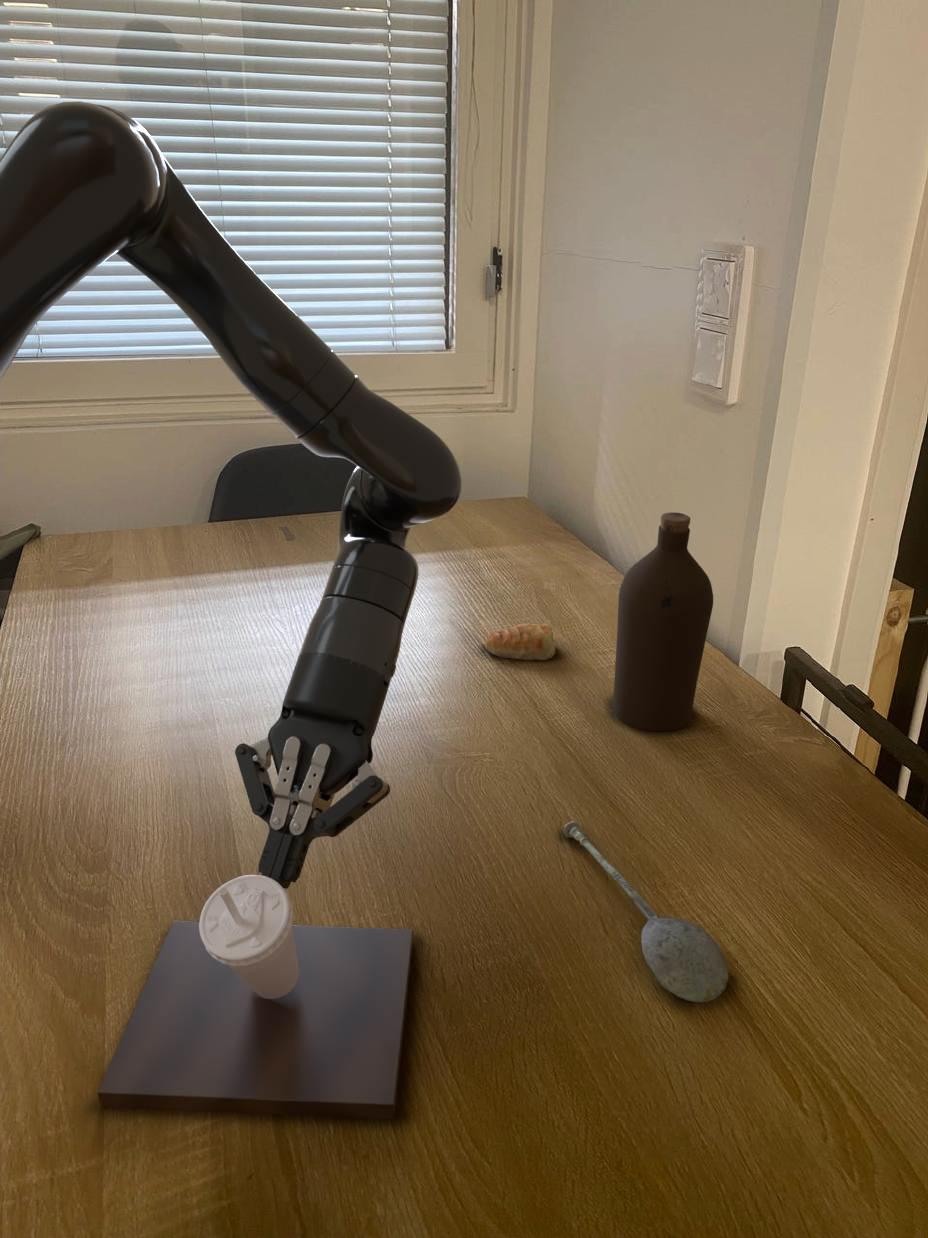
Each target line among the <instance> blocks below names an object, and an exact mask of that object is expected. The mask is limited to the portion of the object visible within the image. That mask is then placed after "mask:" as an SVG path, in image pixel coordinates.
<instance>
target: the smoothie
mask: <svg viewBox="0 0 928 1238" xmlns="http://www.w3.org/2000/svg"><path fill="white" fill-rule="evenodd" d="M293 918H294V910H293V904H292V901H291V899H290V897H289V895H288V893H287V892H286V890H285V888H282V886H281V885H280V884H279V883H277V882H276V881H275V880H273V879H271V878H269V877H266V876H262V874H246V875H240V876H238V877H235V878H233V879H230V880H229V881H227V882H225V883H223V884H222V885H221V886H219V887H218V888H217V889H216V890H215V891H214V892H213V893H212V894H211V895H210V896H209V897H208V899H207V900H206V902H205V904H204V905H203V907H202V910H201V913H200V915H199V921H198V922H199V931H200V936H201V939H202V941H203V943H204V945H205V948H206V950H207V951H208V952H209V953H210V955H211V956H212V957H213V958H215V959H216V960H218V961H220V962H221V963H224V964H227V965H228V966H229V967H230V968H231V969H232V970H233V971H234V972H235V973H236V974H237V975H238V976H239V977H240V978H241V979H243V980H244V981H245V982H246V983H247V984H248V985H249V986H250V987H251V988H252V989H253V990H254V991H255V992H256V993H257V994H258V995H259V996H261V997H263V998H266V999H276V998H279V997H282V996H284V995H286V994H287V993H288V992H290V991H291V990H292V988H293V987H294V986H295V984H296V982H297V980H298V977H299V965H298V960H297V954H296V949H295V943H294V938H293V933H292V927H291V925H293Z"/></svg>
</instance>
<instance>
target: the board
mask: <svg viewBox="0 0 928 1238" xmlns="http://www.w3.org/2000/svg"><path fill="white" fill-rule="evenodd" d="M291 927H292V933H293V938H294V943H295V949H296V954H297V960H298V965H299V977H298V980H297V982H296V984H295V986H294V987H293V988H292V990H291V991H290V992H288V993H287V994H286V995H284V996H282V997H279V998H276V999H266V998H263V997H261V996H259V995H258V994H257V993H256V992H255V991H254V990H253V989H252V988H251V987H250V986H249V985H248V984H247V983H246V982H245V981H244V980H243V979H241V978H240V977H239V976H238V975H237V974H236V973H235V972H234V971H233V970H232V969H231V968H230V967H229V966H228V965H227V964H224V963H221V962H220V961H218V960H216V959H215V958H213V957H212V956H211V955H210V953H209V952H208V951H207V950H206V948H205V945H204V943H203V941H202V939H201V936H200V931H199V921H192V920H191V921H190V920H172V922H171V924H170V927H169V929H168V931H167V934H166V935H165V938H164V940H163V942H162V944H161V947H160V950H159V952H158V953H157V956H156V958H155V960H154V963H153V966H152V968H151V970H150V972H149V975H148V977H147V979H146V981H145V983H144V986H143V989H142V991H141V993H140V994H139V997H138V1000H137V1001H136V1004H135V1006H134V1008H133V1011H132V1013H131V1015H130V1018H129V1020H128V1022H127V1024H126V1027H125V1029H124V1032H123V1034H122V1036H121V1038H120V1041H119V1043H118V1044H117V1047H116V1049H115V1052H114V1054H113V1056H112V1059H111V1061H110V1063H109V1065H108V1068H107V1070H106V1073H105V1075H104V1077H103V1079H102V1081H101V1084H100V1086H99V1088H98V1091H97V1096H98V1101H99V1106H100V1108H110V1109H111V1108H114V1109H133V1110H134V1109H135V1110H136V1109H137V1110H138V1109H139V1110H160V1111H183V1112H184V1111H187V1112H206V1113H207V1112H209V1113H232V1114H233V1113H237V1114H258V1115H259V1114H260V1115H284V1116H309V1117H330V1118H331V1117H333V1118H352V1119H353V1118H355V1119H356V1118H357V1119H378V1120H379V1119H382V1120H394V1119H395V1116H396V1107H397V1097H398V1087H399V1079H400V1071H401V1069H400V1068H401V1062H402V1061H401V1059H402V1051H403V1050H402V1049H403V1042H404V1041H403V1039H404V1031H405V1022H406V1012H407V1003H408V996H409V995H408V994H409V992H408V991H409V985H410V975H411V966H412V965H411V964H412V956H413V947H414V930H413V929H407V928H406V929H405V928H403V929H402V928H400V929H399V928H377V927H376V928H375V927H352V926H348V927H347V926H325V925H299V924H298V925H297V924H292V925H291Z"/></svg>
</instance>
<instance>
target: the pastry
mask: <svg viewBox="0 0 928 1238" xmlns="http://www.w3.org/2000/svg"><path fill="white" fill-rule="evenodd" d="M484 645H485V646H484V648H485V649H486V650H487V651H488V652H490V653H491V654H492V655H495V656H497V658H498V657H501V658H505V659H506V658H508V659H512V660H523V661H533V660H537V661H546V660H550V659H553V656H555V654H556V645H555V640H554V633H553V628H552V625H551V624H549V623H547V622H543V623H541V624H538V623H524V622H521V623H518V624H516V625H515V626H511V627H508V628H502V629H499V630H497V631H494V632H491V633H490V634H488V636H487V638H486V639H485V643H484Z"/></svg>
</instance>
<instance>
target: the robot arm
mask: <svg viewBox="0 0 928 1238" xmlns="http://www.w3.org/2000/svg"><path fill="white" fill-rule="evenodd" d="M114 254H115V255H118V256H119V257H120V258H122V259H123V260H124V261H126V263H129V265H131V266H132V267H133V268H134V269H136V270H137V271H139V272H140V273H141V274H143V275H144V276H145V277H147V279H149V280H150V281H151V282H152V283H154V284H155V286H157V287H158V288H159V289H160V290H161V291H162V292H163V293H165V295H167V296H168V297H169V299H171V300H172V302H174V304H176V306H177V307H179V309H180V310H181V311H182V312H183V313H184V315H186V316H187V318H189V320H191V322H192V323H193V324H194V325H195V326H196V328H197V329H198V330H199V331H200V333H201V334H202V335H203V336H204V338H205V339H206V341H208V342H209V344H210V345H211V346H212V348H213V349H214V350H215V352H216V353H217V354H218V356H219V358H221V359H222V361H223V363H224V364H225V365H226V366H227V368H228V369H229V370H230V371H231V373H232V374H233V375H234V376H235V378H236V379H237V380H238V381H239V383H240V384H241V385H242V386H243V387H244V388H245V390H247V391H248V393H249V394H250V395H251V396H252V397H253V398H254V399H255V400H256V401H257V402H258V403H259V405H261V407H263V408H264V409H265V411H267V412H268V413H269V414H270V415H271V416H272V417H273V418H274V419H275V420H276V421H277V422H279V424H280V425H282V426H283V427H284V429H286V430H287V431H288V432H289V433H290V434H291V435H292V436H293V437H295V439H296V440H297V441H298V442H299V443H300V444H301V445H303V446H304V447H305V448H306V449H307V450H309V452H311V453H312V454H314V455H315V456H318V457H322V458H339V459H344V460H347V461H349V462H351V463H352V464H354V465H355V468H354V470H353V471H352V473H351V475H350V477H349V479H348V482H347V484H346V487H345V490H344V493H343V497H342V504H341V511H340V518H339V527H338V534H337V535H338V536H337V538H338V539H337V540H338V541H337V555H336V558H335V560H334V562H333V565H332V567H331V570H330V572H329V575H328V578H327V581H326V584H325V587H324V590H323V594H322V596H321V599H320V602H319V604H318V606H317V609H316V611H315V612H314V615H313V617H312V619H311V620H310V623H309V625H308V627H307V630H306V633H305V636H304V639H303V642H302V645H301V648H300V650H299V654H298V657H297V660H296V663H295V665H294V668H293V671H292V674H291V677H290V680H289V683H288V686H287V688H286V691H285V695H284V697H283V701H282V706H281V712H280V715H279V717H278V719H277V720H276V721H275V723H274V724H273V725H272V726H271V727H270V728H269V731H268V733H267V737H265V738H263V739H261V740H258V741H256V742H255V743H253V744H251V745H249V744H247V743H240V744H238V745H237V746H236V748H235V750H234V754H235V757H236V761H237V765H238V768H239V772H240V775H241V779H242V782H243V785H244V788H245V791H246V796H247V798H248V802H249V805H250V809H251V811H252V813H253V814H254V815H255V816H257V817H259V818H260V819H261V820H263V821H264V823H266V824H267V826H268V834H267V838H266V841H265V844H264V846H263V849H262V852H261V857H260V859H259V862H258V866H257V868H258V873H260V874H261V875H262V876H266V877H269V878H271V879H273V880H275V881H276V882H277V883H279V884H280V885H281V886H282V888H283V889H284V890H285V889H286V890H287V889H289V887H290V886H291V884H292V883H296V882H297V881H298V879H300V876H301V875H302V870H303V867H304V863H305V861H306V858H307V855H308V851H309V848H310V845H311V843H312V842H313V841H314V840H315V839H317V838H323V837H329V838H335V837H337V836H339V835H340V834H341V833H343V832H344V831H345V830H347V829H348V827H350V826H351V825H352V824H354V823H355V822H356V821H358V820H359V819H360V818H362V817H363V816H364V815H365V814H366V813H367V812H369V811H370V810H371V809H372V808H374V807H375V806H376V805H378V804H379V803H380V802H381V801H382V800H384V799H385V798H387V797H388V796H389V794H390V793H391V786H390V784H389V783H388V782H387V781H386V780H384V779H382V778H381V777H380V775H379V773H378V772H377V770H376V769H375V768H374V766H373V765H372V761H373V758H374V752H373V748H372V747H373V746H372V740H373V737H374V735H375V733H376V730H377V727H378V724H379V720H380V718H381V714H382V710H383V708H384V704H385V701H386V698H387V694H388V692H389V688H390V684H391V681H392V678H394V676H395V673H396V669H397V663H398V662H397V661H398V658H399V655H400V650H401V644H402V637H403V633H404V628H405V625H406V622H407V618H408V616H409V612H410V609H411V605H412V602H413V599H414V596H415V592H416V589H417V585H418V581H419V576H420V575H419V572H420V571H419V564H418V562H417V560H416V558H415V557H414V555H413V554H412V553H411V552H410V551H409V550H407V548H406V546H407V539H408V536H409V533H410V531H411V529H412V527H414V526H418V525H421V524H424V523H427V522H431V521H433V520H437V519H439V518H442V517H444V516H445V515H446V514H448V513H450V512H451V511H452V510H453V509H454V508H455V507H456V505H457V504H458V502H459V500H460V499H461V496H462V491H463V475H462V471H461V468H460V465H459V462H458V460H457V458H456V456H455V454H454V452H452V450H451V448H450V447H449V446H448V444H447V443H446V442H445V441H444V440H443V439H442V438H441V437H440V436H439V435H438V434H437V433H436V432H434V431H433V430H432V429H430V427H428V426H427V425H426V424H424V423H422V422H421V421H420V420H418V419H417V418H415V417H414V416H412V415H411V414H409V413H407V412H406V411H404V410H403V409H402V408H400V407H398V406H397V405H396V404H394V403H393V402H391V401H389V400H388V399H386V398H384V397H383V396H381V395H379V394H378V393H376V392H374V391H372V390H371V389H370V388H369V387H368V386H367V385H366V384H365V383H364V382H363V381H362V379H360V377H358V375H356V373H355V372H354V371H353V370H352V369H351V368H350V367H349V366H348V365H347V364H346V363H345V362H344V361H343V360H342V358H340V357H339V356H338V355H337V354H336V353H335V351H333V350H332V348H331V347H330V346H329V345H328V344H327V343H326V342H325V341H324V340H323V339H322V338H321V337H320V336H319V335H318V334H317V333H316V332H315V331H314V330H313V329H312V328H311V327H310V326H309V325H308V324H307V323H306V322H305V321H304V320H303V319H302V318H301V317H300V316H299V315H298V314H297V313H296V312H295V311H294V310H293V309H291V307H290V306H289V305H288V304H286V302H285V301H283V299H282V298H280V296H278V295H277V294H276V293H275V291H273V290H272V289H271V288H270V286H268V285H267V283H265V281H263V279H261V277H260V276H259V275H258V274H257V273H256V272H255V271H254V270H253V269H252V268H251V267H250V266H249V265H248V264H247V263H246V261H245V260H244V259H243V258H242V257H241V256H240V255H239V253H238V252H237V251H236V250H235V249H234V248H233V246H231V244H230V243H229V242H228V241H227V239H225V237H224V236H223V235H222V234H221V233H220V232H219V230H218V229H217V228H216V226H215V225H214V224H213V222H212V221H211V220H210V218H208V216H207V215H206V214H205V212H204V211H203V210H202V208H201V207H200V206H199V205H198V203H197V201H195V199H194V198H193V196H192V195H191V193H190V192H189V191H188V189H187V188H186V187H185V185H184V183H183V182H182V181H181V179H180V178H179V177H178V175H177V174H176V172H175V171H174V169H173V168H172V166H171V165H170V164H169V162H168V161H167V159H166V158H165V157H164V155H163V153H162V152H161V150H160V149H159V147H158V145H157V143H156V142H155V140H154V139H153V138H152V136H151V135H150V134H149V133H148V131H147V130H146V129H145V128H144V127H143V126H142V125H141V124H140V123H139V122H137V121H136V120H135V119H133V118H131V117H130V116H128V115H127V114H125V113H124V112H122V111H119V110H117V109H116V108H115V109H114V108H111V107H110V106H106V105H102V104H96V103H93V102H92V103H91V102H84V101H62V102H58V103H55V104H50V105H48V106H47V107H45V108H43V109H41V110H39V111H37V112H36V113H35V114H33V115H32V117H30V118H29V119H28V120H27V121H26V122H25V123H24V124H23V125H22V127H20V129H19V131H18V132H17V133H16V135H15V136H14V137H13V139H12V141H11V142H10V144H9V145H8V146H7V148H6V150H5V151H4V152H3V154H2V156H1V157H0V381H1V380H2V379H3V377H4V376H5V374H6V373H7V371H8V370H9V368H10V366H11V364H12V363H13V361H14V359H15V358H16V356H17V355H18V353H19V350H20V349H21V347H22V345H23V344H24V342H25V340H26V338H27V337H28V335H29V334H30V332H31V331H32V330H33V328H34V327H35V325H36V324H37V323H38V322H39V320H40V319H41V318H42V317H43V316H44V314H46V313H47V312H48V310H50V309H51V308H52V307H53V306H54V304H55V303H57V302H58V301H59V300H60V299H62V297H64V296H65V295H66V294H67V293H68V292H69V291H70V290H71V289H72V288H74V287H75V286H76V285H77V284H78V283H80V281H82V280H83V279H84V278H85V277H87V275H88V274H90V273H91V272H92V271H94V270H95V269H96V268H97V267H98V266H100V265H101V264H103V263H104V262H105V261H106V260H108V259H109V258H110V257H111V256H113V255H114ZM272 760H273V764H274V767H275V771H276V775H277V779H276V784H275V788H274V786H273V784H272V781H271V778H270V774H269V771H268V770H269V769H270V768H271V766H272ZM350 782H352V784H351V788H352V789H351V790H350V791H348V792H347V793H346V794H345V795H343V796H342V797H341V798H340V799H338V801H336V802H335V803H333V800H334V799H335V796H336V794H337V793H339V792H340V791H341V790H342V789H343V788H345V787H346V786H347V785H348V784H349V783H350ZM332 803H333V804H332Z"/></svg>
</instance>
